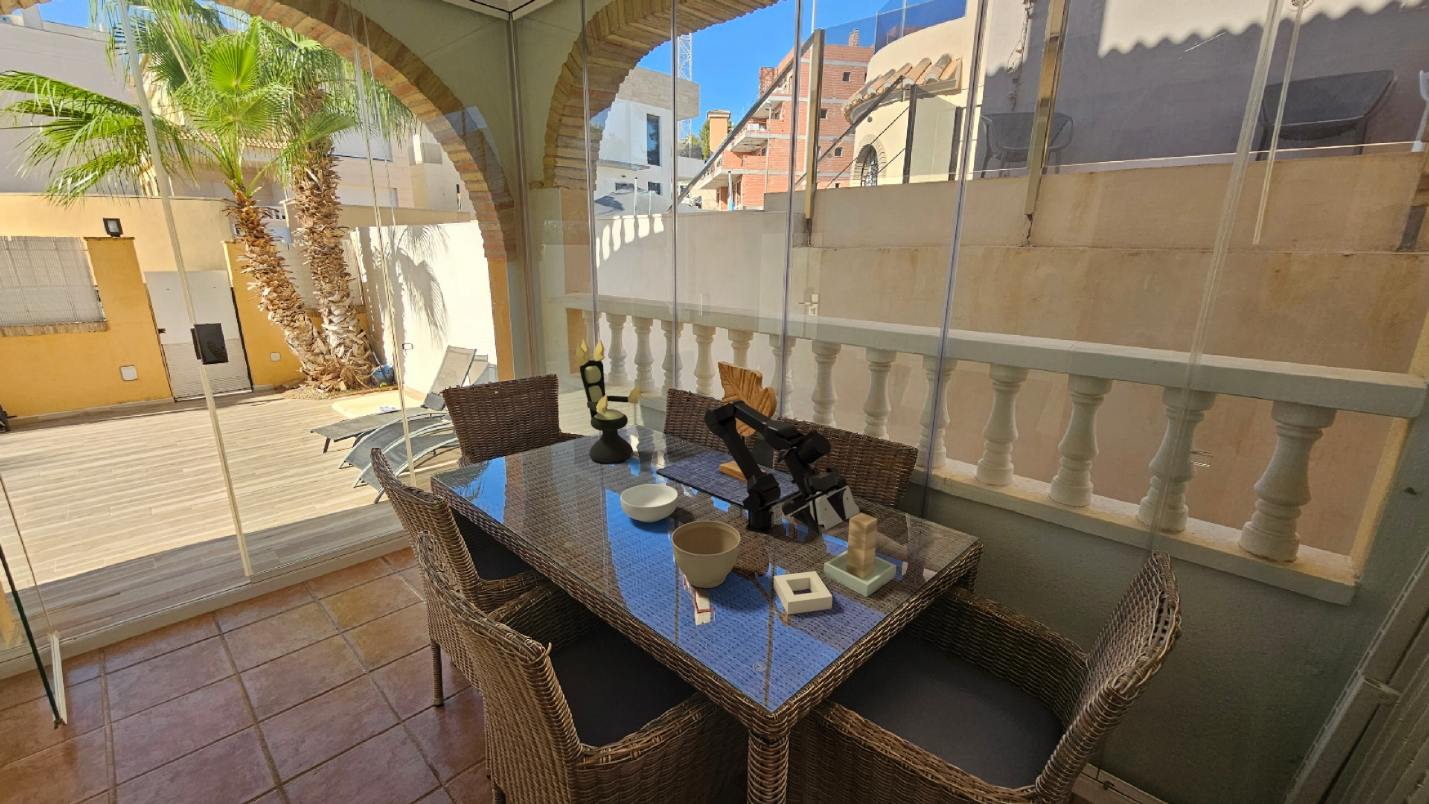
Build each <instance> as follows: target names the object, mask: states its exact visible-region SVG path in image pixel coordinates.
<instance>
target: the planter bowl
mask: <svg viewBox="0 0 1429 804" xmlns="http://www.w3.org/2000/svg"><path fill="white" fill-rule="evenodd" d="M671 544H672V551H673V556H674V558H675V559H674V560H675V561H676V564H677V566H678V568H679V569H680V571H681V572H682V574H683V575H684V576H685V579H686V580H687V582H688V583H689V584H690V585H691V586H694V587H697V588H703V589H709V588H711V589H712V588H715V587H719V586H720V585H721V584H723V583H724V582H725V580H726V577H727V576H728V574H729V573H730V572H731V571H732V570H733V567H734V566H735V564H736V561H737V560H738V555H739V550H740V544H741V534H740V533H739V531H738V530H737V529H736V528H734V527H733V526H731V525H729V524H727V523H724V522H722V521H717V520H716V521H714V520H698V521H697V520H696V521H692V522H688V523H685V524H683V525H680V526H679V527H677V528H676V529H675V530H674V531H673V532H672V535H671Z"/></svg>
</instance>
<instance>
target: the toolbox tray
mask: <svg viewBox="0 0 1429 804" xmlns="http://www.w3.org/2000/svg"><path fill="white" fill-rule="evenodd" d="M847 553H848V549H847V550H845V551H843V552H842V553H840V554H838V555H836V556H834V557H833V558H831V559H829V560H828V561H826V562H823V576H825V577H828V578H829V579H831V580H833V581H835V582H837V583H838V584H840V585H842V586H845V587H847V588H848V589H851V590H852V591H855V592H856V593H858V594H859V595H862V596H864V597H866V598H868V597H869V596H870V595H872V594H873V593H874V592H876V591H877V590H879V589H880V588H881V586H882V585H883V586H885V585H886V584H887V583H889V582H890V581H891V580H893V579H894V578H896V574H897V565H896V564H894V563H892V562H889V561H888V560H885V559H883V558H881V557H879V556H877V555H875V557H874V570H873V573H872V574H870V575H869V576H867V577H866V578H864V579H863V580H862V579H860V578H858V577H856V576H854V575H852V574H850V573H848V572H846V569H847ZM883 586H882V587H883ZM878 588H879V589H878Z"/></svg>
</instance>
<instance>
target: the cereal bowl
mask: <svg viewBox="0 0 1429 804" xmlns="http://www.w3.org/2000/svg"><path fill="white" fill-rule="evenodd" d="M678 502H679V494H678V491H677V489H675V488H674V487H672V486H669V485H665V484H659V483H647V484H641V485H635V486H632V487H628V488H627V489H625V490H624V491H622V493H621V494H620V506H621V509H622V511H623V512H624V514H626V516H628V517H630V518H631V519H634V520H636V521H639V522H643V523H654V522H659V521H660V520H662V519H665V518H667V517H669V516H670V515H672V514H673V513H674V512H675V510H676V509H677V506H678Z"/></svg>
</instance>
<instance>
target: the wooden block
mask: <svg viewBox="0 0 1429 804" xmlns="http://www.w3.org/2000/svg"><path fill="white" fill-rule="evenodd" d="M877 529H878V518H876V517H873V516H870V515H868V514H865V513H863V512H859V513H857V514H856V515H854V516H852V517H850V518H849V524H848V537H847V538H848V540H847V541H848V542H847V550H848V553H847V569H846V572H848V573H850V574H852V575H854V576H856V577H858V578H860V579H862V580H863V579H864V578H866V577H867V576H869V575H870V574H872V573H873V570H874V557H875V556H876V544H877V543H876V542H877Z"/></svg>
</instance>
